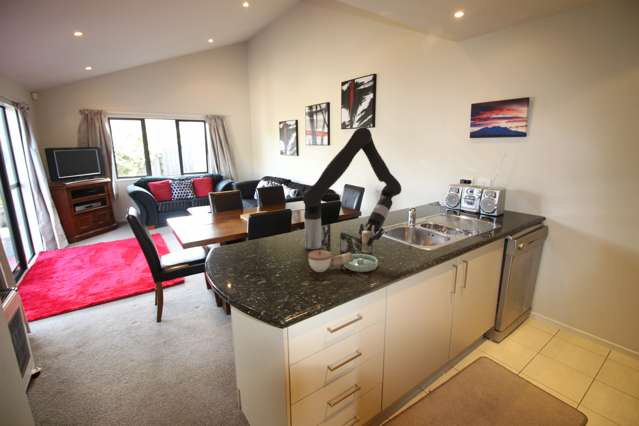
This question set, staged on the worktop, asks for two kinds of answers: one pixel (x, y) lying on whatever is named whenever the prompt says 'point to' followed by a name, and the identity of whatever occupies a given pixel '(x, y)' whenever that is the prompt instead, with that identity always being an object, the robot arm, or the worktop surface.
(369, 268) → the ring dish
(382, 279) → the worktop surface
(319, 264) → the lidded jar
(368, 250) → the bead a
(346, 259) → the beige banded cylinder
